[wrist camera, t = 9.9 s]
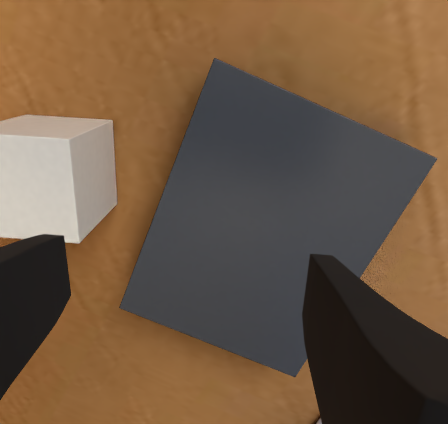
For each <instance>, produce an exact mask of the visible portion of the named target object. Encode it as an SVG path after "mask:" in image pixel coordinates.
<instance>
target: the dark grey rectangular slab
mask: <svg viewBox="0 0 448 424" xmlns="http://www.w3.org/2000/svg"><path fill="white" fill-rule="evenodd" d="M436 160H437V158H435V157H433V156H431V155H429V154H427V153H425V152H422V151H420V150H418V149H416V148H413V147H411V146H409V145H407V144H405V143H402V142H400V141H398V140H396V139H394V138H391V137H389V136H387V135H385V134H382V133H380V132H378V131H376V130H374V129H371V128H369V127H367V126H365V125H363V124H360V123H358V122H356V121H354V120H351V119H349V118H347V117H345V116H343V115H340V114H338V113H336V112H334V111H331V110H329V109H327V108H325V107H323V106H320V105H318V104H316V103H314V102H312V101H309V100H307V99H305V98H303V97H300V96H298V95H296V94H294V93H292V92H289V91H287V90H285V89H283V88H281V87H278V86H276V85H274V84H272V83H269V82H267V81H265V80H263V79H261V78H258V77H256V76H254V75H252V74H249V73H247V72H245V71H243V70H241V69H238V68H236V67H234V66H232V65H230V64H227V63H225V62H223V61H221V60H218V59H216V58H214V60H213V62H212V65H211V68H210V70H209V73H208V76H207V78H206V81H205V83H204V86H203V89H202V91H201V94H200V97H199V99H198V102H197V104H196V107H195V110H194V112H193V115H192V118H191V120H190V123H189V126H188V128H187V131H186V133H185V136H184V139H183V141H182V144H181V147H180V149H179V152H178V154H177V157H176V160H175V162H174V165H173V168H172V170H171V173H170V175H169V178H168V181H167V183H166V186H165V189H164V191H163V194H162V197H161V199H160V202H159V204H158V207H157V210H156V212H155V215H154V218H153V220H152V223H151V225H150V228H149V231H148V233H147V236H146V239H145V241H144V244H143V247H142V249H141V252H140V254H139V257H138V260H137V262H136V265H135V268H134V270H133V273H132V275H131V278H130V281H129V283H128V286H127V289H126V291H125V294H124V297H123V299H122V302H121V304H120V307H119V308H121V309H123V310H126V311H128V312H131V313H133V314H136V315H138V316H141V317H143V318H146V319H149V320H151V321H154V322H156V323H159V324H161V325H164V326H166V327H169V328H171V329H174V330H176V331H179V332H182V333H184V334H187V335H189V336H192V337H194V338H197V339H199V340H202V341H204V342H207V343H209V344H212V345H214V346H217V347H220V348H222V349H225V350H227V351H230V352H232V353H235V354H237V355H240V356H242V357H245V358H247V359H250V360H253V361H255V362H258V363H260V364H263V365H265V366H268V367H270V368H273V369H275V370H278V371H280V372H283V373H285V374H288V375H291V376H293V377H296V375H297V374H298V372H299V371H300V369H301V367H302V366H303V364H304V363H305V361H306V360H307V354H306V349H305V344H304V333H303V321H302V310H303V303H304V296H305V288H306V281H307V273H308V266H309V259H310V254H322V255H332V256H334V257H335V258H336V259H338V260H339V261H340V262H341V263H342V264H344V265H345V266H346V267H347V268H348V269H349V270H350V271H352V272H353V273H354V274H355V275H356V276H357V277H358V278H360V277H361V275H362V274H363V272H364V271H365V269H366V268H367V266H368V265H369V263H370V262H371V260H372V258H373V257H374V255H375V254H376V252H377V251H378V249H379V248H380V246H381V245H382V243H383V242H384V240H385V239H386V237H387V235H388V234H389V232H390V231H391V229H392V228H393V226H394V225H395V223H396V222H397V220H398V219H399V217H400V216H401V214H402V212H403V211H404V209H405V208H406V206H407V205H408V203H409V202H410V200H411V199H412V197H413V196H414V194H415V193H416V191H417V189H418V188H419V186H420V185H421V183H422V182H423V180H424V179H425V177H426V176H427V174H428V173H429V171H430V169H431V168H432V166H433V165H434V163H435V162H436Z"/></svg>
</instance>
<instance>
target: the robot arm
mask: <svg viewBox="0 0 448 424" xmlns="http://www.w3.org/2000/svg"><path fill="white" fill-rule="evenodd" d="M70 296H71V290H70V282H69V274H68V265H67V257H66V249H65V240H64V235H50V234H42V235H37V236H33V237H30V238H26V239H23V240H20V241H17V242H14V243H11V244H8V245H5V246H3V247H0V400H1V398H2V397H3V395H4V394H5V392H6V391H7V390H8V388H9V387H10V385H11V384H12V382H13V381H14V380H15V378H16V377H17V376H18V374H19V373H20V372H21V370H22V369H23V368H24V366H25V365H26V364H27V362H28V361H29V360H30V358H31V357H32V356H33V354H34V353H35V352H36V350H37V349H38V348H39V346H40V345H41V343H42V342H43V341H44V339H45V338H46V337H47V335H48V334H49V332H50V331H51V330H52V328H53V327H54V325H55V324H56V323H57V321H58V319H59V317H60V315H61V314H62V312H63V310H64V308H65V306H66V304H67V302H68V300H69V298H70ZM302 321H303V333H304V344H305V349H306V354H307V358H308V363H309V367H310V372H311V376H312V381H313V385H314V390H315V394H316V399H317V403H318V407H319V412H320V416H321V418H320V419H319V420H318V422H317V423H316V424H448V339H447V338H445V337H443V336H442V335H440V334H438V333H436V332H434V331H433V330H431V329H429V328H428V327H426V326H424V325H423V324H421V323H420V322H418V321H416V320H415V319H413V318H411V317H410V316H408V315H407V314H405V313H404V312H402V311H401V310H399V309H398V308H397V307H395V306H394V305H393V304H391V303H390V302H388V301H387V300H386V299H384V298H383V297H382V296H380V295H379V294H378V293H377V292H375V291H374V290H373V289H372V288H370V287H369V286H368V285H367V284H366V283H364V282H363V281H362V280H361V279H360V278H358V277H357V276H356V275H355V274H354V273H353V272H352V271H350V270H349V269H348V268H347V267H346V266H345V265H344V264H342V263H341V262H340V261H339V260H338V259H336V258H335V257H334V256H332V255H322V254H310V259H309V266H308V273H307V281H306V288H305V296H304V303H303V310H302Z"/></svg>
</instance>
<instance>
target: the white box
mask: <svg viewBox="0 0 448 424" xmlns="http://www.w3.org/2000/svg"><path fill="white" fill-rule="evenodd" d="M116 205H117V189H116V171H115V154H114V136H113V121H112V120H104V119H88V118H72V117H56V116H40V115H23V116H19V117H15V118H11V119H7V120H3V121H0V237H5V238H18V239H26V238H30V237H33V236H37V235H42V234H50V235H64V240H65V242H67V243H80V242H81V241H82V240H83V239H84V238H85V237H86V236H87V235H88V234H89V233H90V232H91V231H92V230H93V229H94V228H95V227H96V226H97V224H98V223H99V222H100V221H101V220H102V219H103V218H104V217H105V216H106V215H107V214H108V213H109V212H110V211H111V210H112V209H113V208H114V207H115V206H116Z"/></svg>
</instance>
